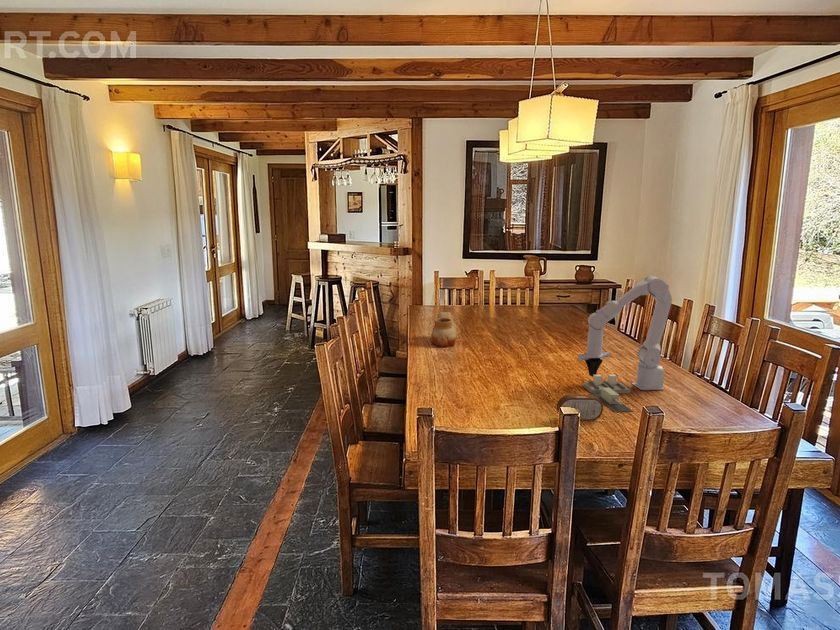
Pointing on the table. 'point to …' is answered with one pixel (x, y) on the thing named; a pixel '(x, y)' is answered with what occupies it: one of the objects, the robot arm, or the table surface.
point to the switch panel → (597, 388)
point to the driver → (610, 396)
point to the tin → (583, 405)
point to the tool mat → (614, 405)
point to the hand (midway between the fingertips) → (592, 376)
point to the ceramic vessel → (444, 331)
